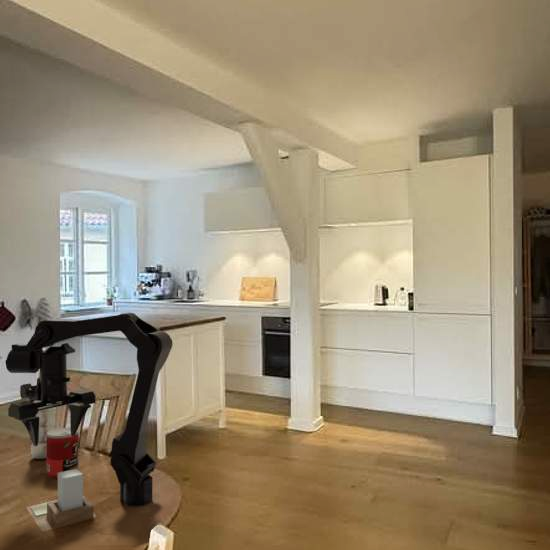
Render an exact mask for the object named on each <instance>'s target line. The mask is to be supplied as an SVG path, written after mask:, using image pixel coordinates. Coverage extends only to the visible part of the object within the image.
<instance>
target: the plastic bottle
mask: <svg viewBox="0 0 550 550" xmlns="http://www.w3.org/2000/svg"><path fill="white" fill-rule="evenodd" d="M37 402H41V401H34V403H37ZM47 405H49V404H47ZM56 414H57V407H54V408H49V409H45V410H40V411H38V413H37V415H36V417H39V440H38V446H34V445H33V443H32V442H31V445H30V454H31V456H32V458H33V459H36V460H43V459H44V460H45V459H46V439H47V432H48V431H50V430H53V429H55V419H56Z"/></svg>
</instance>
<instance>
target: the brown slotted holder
mask: <svg viewBox="0 0 550 550" xmlns="http://www.w3.org/2000/svg"><path fill="white" fill-rule="evenodd" d="M25 509H26V511H27V512H28V513H29V514H30V516H31V518H32V520H33V521H34V523H35V524H36V525H37V527H38V529H39V530H40V532H41V533H43V532H46V531H50V530H55V529H57V528H62V527H65V526H69V525H72V524H76V523H81V522H84V521H89V520H91V519H95V518H98V516H97V514H96V513H94V505H93V504H92V502H91V501H90V500H89V499H88V498H87V497H86V496H85V495H84V494H83V507H79V508H75V509H71V510H67V511H63V512H60V511H59V510H58V499H55V500H50V501H47V502H42V503H38V504H34V505H29V506H26V507H25Z"/></svg>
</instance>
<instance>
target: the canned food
mask: <svg viewBox="0 0 550 550" xmlns="http://www.w3.org/2000/svg"><path fill="white" fill-rule="evenodd" d="M79 438H80V437H79V429H78V430H77V432H76V434H75V436H71V430H70V427H60V428H57V427H56V428H54V429H53V430H50V431H48V432H47V439H46V458H45V459H46V468H45V469H46V475H47V477H48V478H51V479H55V480H58V473H59V472H64V471H68V470H73V469H78V470H79V448H80V447H79V444H80V443H79V440H80V439H79Z"/></svg>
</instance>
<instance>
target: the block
mask: <svg viewBox="0 0 550 550" xmlns="http://www.w3.org/2000/svg"><path fill="white" fill-rule="evenodd" d="M83 491H84V474H83V473H82V472H81V471H80V470H79V468H78V469H73V470H68V471H64V472H59V473H58V479H57V500H58V510H59V511H60V512H63V511H67V510H71V509H75V508H79V507H83V495H84V492H83Z"/></svg>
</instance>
